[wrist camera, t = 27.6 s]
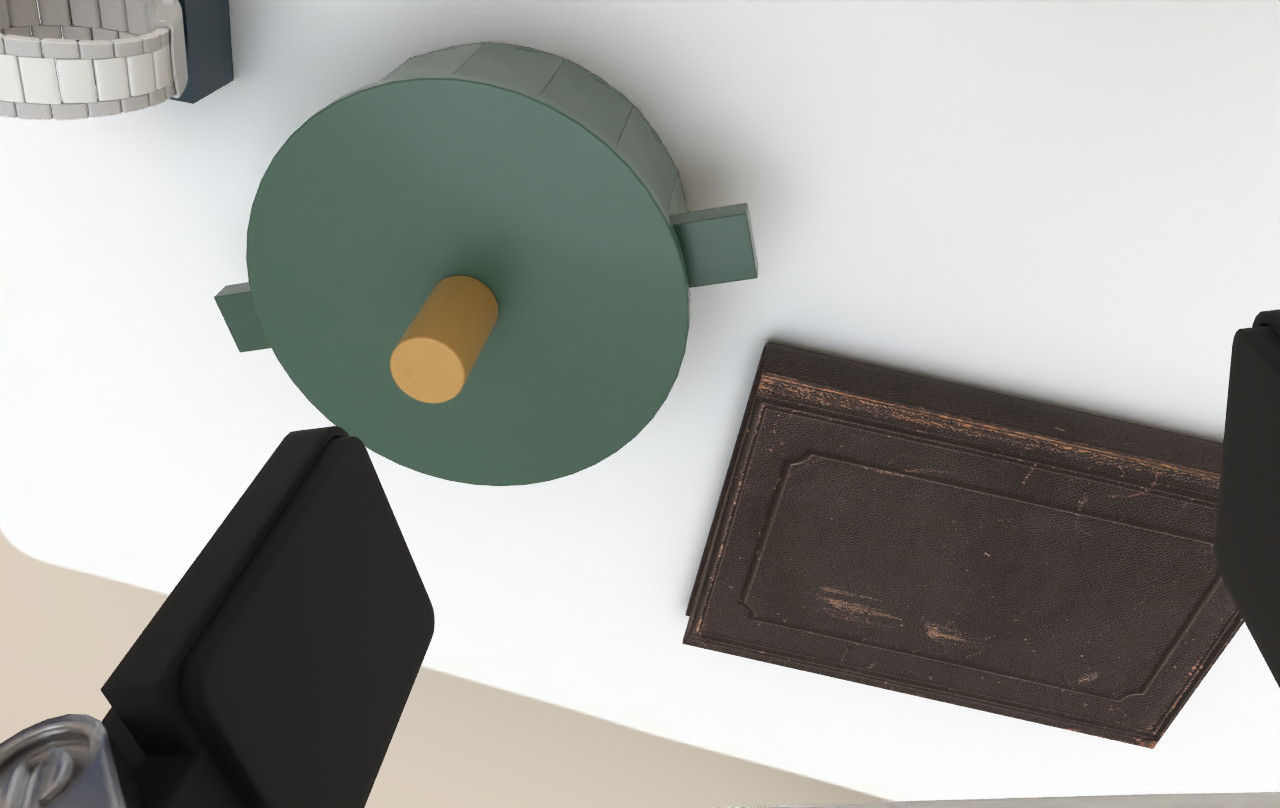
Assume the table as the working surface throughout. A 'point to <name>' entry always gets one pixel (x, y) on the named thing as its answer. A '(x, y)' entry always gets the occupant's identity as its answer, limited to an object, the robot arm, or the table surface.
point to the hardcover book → (966, 548)
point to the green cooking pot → (706, 237)
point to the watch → (110, 55)
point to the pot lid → (468, 279)
